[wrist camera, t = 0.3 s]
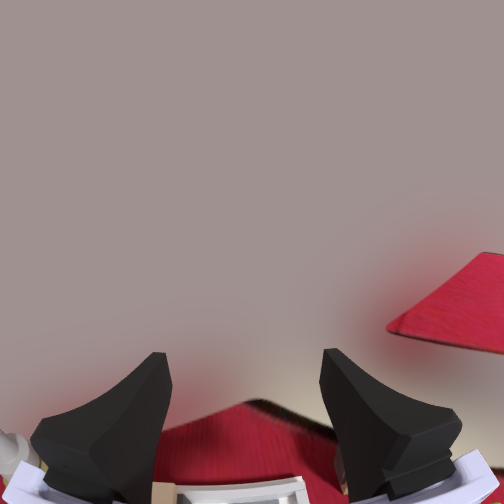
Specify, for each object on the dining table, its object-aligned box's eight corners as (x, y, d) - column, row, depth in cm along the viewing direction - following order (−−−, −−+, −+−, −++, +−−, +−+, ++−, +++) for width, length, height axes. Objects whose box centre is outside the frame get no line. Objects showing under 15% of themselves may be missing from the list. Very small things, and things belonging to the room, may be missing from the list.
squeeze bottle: (60, 539, 12) (-62, 442, 6) (71, 489, 19) (-23, 381, 13) (123, 557, 12) (-8, 476, 6) (129, 500, 20) (34, 392, 14)
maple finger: (383, 482, 20) (401, 451, 17) (338, 496, 20) (348, 469, 17) (372, 455, 24) (385, 421, 21) (329, 467, 23) (336, 435, 21)
